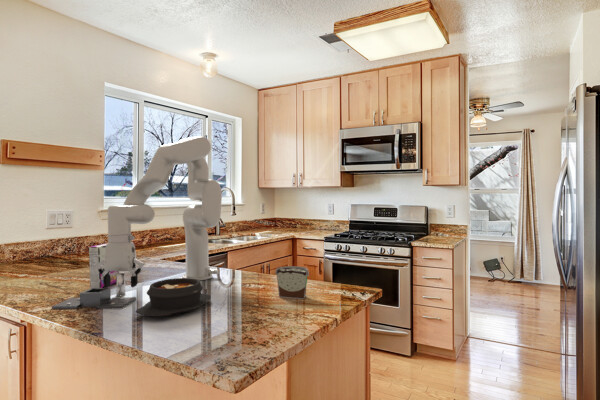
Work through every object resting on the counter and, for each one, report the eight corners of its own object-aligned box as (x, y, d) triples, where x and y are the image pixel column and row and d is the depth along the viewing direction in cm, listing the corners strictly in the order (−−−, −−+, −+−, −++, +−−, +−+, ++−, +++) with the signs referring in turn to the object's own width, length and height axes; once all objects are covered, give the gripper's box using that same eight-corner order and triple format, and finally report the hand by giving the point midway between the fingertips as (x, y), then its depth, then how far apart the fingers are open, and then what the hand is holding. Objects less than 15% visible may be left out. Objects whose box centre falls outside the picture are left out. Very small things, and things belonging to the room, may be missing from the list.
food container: (313, 294, 135) (313, 266, 134) (308, 299, 129) (308, 270, 129) (281, 292, 139) (281, 265, 138) (275, 296, 133) (274, 268, 133)
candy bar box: (108, 281, 158) (108, 242, 158) (119, 282, 157) (118, 242, 157) (88, 288, 147) (88, 246, 147) (100, 289, 146) (99, 246, 146)
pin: (126, 294, 138) (126, 272, 138) (122, 296, 135) (122, 274, 135) (118, 294, 138) (118, 272, 138) (114, 296, 135) (114, 274, 135)
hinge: (136, 299, 131) (135, 286, 131) (121, 308, 121) (121, 294, 121) (71, 300, 131) (71, 287, 131) (52, 308, 121) (51, 294, 121)
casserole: (168, 326, 104) (167, 296, 104) (121, 317, 112) (120, 289, 112) (224, 302, 127) (223, 277, 126) (181, 296, 135) (181, 272, 135)
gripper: (147, 237, 140) (148, 283, 140) (101, 238, 141) (102, 284, 141) (138, 240, 133) (139, 289, 133) (90, 240, 133) (91, 289, 133)
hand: (120, 286), depth 137 cm, fingers open, 9 cm apart
